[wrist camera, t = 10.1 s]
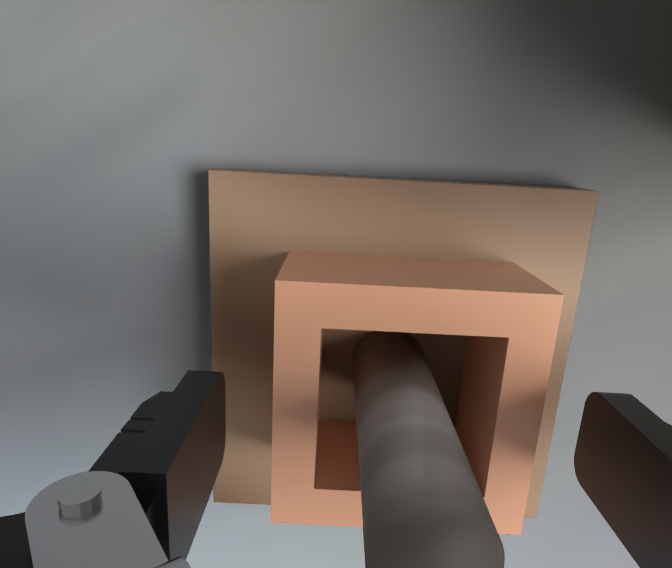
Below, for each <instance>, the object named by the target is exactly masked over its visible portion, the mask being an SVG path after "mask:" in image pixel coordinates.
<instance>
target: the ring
mask: <svg viewBox="0 0 672 568" xmlns="http://www.w3.org/2000/svg"><path fill="white" fill-rule="evenodd" d="M563 298H564V295H563V294H562V293H560V292H559V291H557V290H556V289H554V288H552V287H551V286H549V285H548V284H546V283H545V282H543V281H542V280H540V279H538V278H537V277H535V276H534V275H532V274H531V273H529V272H528V271H526V270H524V269H523V268H521V267H520V266H518V265H517V264H515V263H506V262H486V261H466V260H447V259H427V258H408V257H388V256H368V255H349V254H329V253H310V252H290V251H289V253H288V255H287V257H286V259H285V261H284V263H283V265H282V267H281V269H280V271H279V273H278V275H277V277H276V279H275V304H274V360H273V415H272V471H271V523H288V524H309V525H330V526H351V527H363V518H362V502H361V486H360V470H359V453H358V437H357V422H338V421H319V414H320V393H321V371H322V350H323V328H326V329H346V330H366V331H386V332H406V333H426V334H446V335H466V336H467V341H466V349H465V356H464V364H463V372H462V380H461V387H460V395H459V403H458V411H457V418H456V426H455V427H454V428H455V431H456V433H457V436H458V438H459V440H460V443H461V445H462V448H463V450H464V452H465V455H466V457H467V460H468V462H469V465H470V467H471V469H472V472H473V474H474V477H475V479H476V481H477V484H478V486H479V489H480V491H481V494H482V496H483V498H484V501H485V503H486V506H487V508H488V511H489V513H490V515H491V518H492V520H493V523H494V525H495V527H496V530H497V532H498V534H518V535H521V530H522V525H523V519H524V514H525V508H526V503H527V497H528V492H529V486H530V481H531V475H532V469H533V464H534V458H535V453H536V447H537V442H538V436H539V431H540V425H541V420H542V414H543V409H544V403H545V398H546V392H547V387H548V381H549V376H550V370H551V365H552V359H553V354H554V348H555V342H556V337H557V331H558V326H559V320H560V315H561V309H562V304H563Z"/></svg>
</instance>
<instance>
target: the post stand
mask: <svg viewBox="0 0 672 568" xmlns="http://www.w3.org/2000/svg"><path fill="white" fill-rule="evenodd" d="M208 177H209V240H210V304H211V367H212V372H223V373H224V376H225V402H226V441H225V451H224V456H223V461H222V465H221V468H220V470H219V473H218V476H217V478H216V481H215V484H214V486H213V494H214V502H226V503H246V504H266V505H271V471H272V415H273V360H274V304H275V279H276V277H277V275H278V273H279V271H280V269H281V267H282V265H283V263H284V261H285V259H286V257H287V255H288V253H289V251H290V252H310V253H329V254H349V255H368V256H388V257H408V258H427V259H447V260H466V261H486V262H506V263H515V264H517V265H518V266H520V267H521V268H523V269H524V270H526V271H528V272H529V273H531V274H532V275H534V276H535V277H537V278H538V279H540V280H542V281H543V282H545V283H546V284H548V285H549V286H551V287H552V288H554V289H556V290H557V291H559V292H560V293H562V294H563V295H564V298H563V304H562V309H561V315H560V320H559V326H558V331H557V337H556V342H555V348H554V354H553V359H552V365H551V370H550V376H549V381H548V387H547V392H546V398H545V403H544V409H543V414H542V420H541V425H540V431H539V436H538V442H537V447H536V453H535V458H534V464H533V469H532V475H531V481H530V486H529V492H528V497H527V503H526V508H525V514H524V517H526V518H536V516H537V511H538V506H539V500H540V495H541V490H542V485H543V479H544V474H545V469H546V464H547V459H548V453H549V448H550V443H551V438H552V433H553V427H554V422H555V417H556V412H557V407H558V401H559V396H560V391H561V386H562V380H563V375H564V370H565V365H566V360H567V354H568V349H569V344H570V339H571V334H572V328H573V323H574V318H575V313H576V308H577V302H578V297H579V292H580V287H581V281H582V276H583V271H584V266H585V261H586V255H587V250H588V245H589V240H590V235H591V229H592V224H593V219H594V214H595V209H596V203H597V198H598V193H599V191H594V190H587V189H581V188H564V187H545V186H527V185H509V184H490V183H472V182H453V181H435V180H417V179H398V178H380V177H361V176H343V175H325V174H306V173H288V172H269V171H251V170H233V169H212V170H208ZM466 341H467V336H466V335H446V334H426V333H406V332H386V331H366V330H346V329H326V328H323V350H322V371H321V393H320V414H319V421H338V422H357V437H358V453H359V470H360V486H361V502H362V518H363V534H364V551H365V567H366V568H504V560H505V558H504V549H503V545H502V542H501V540H500V537H499V535H498V532H497V530H496V527H495V525H494V523H493V520H492V518H491V515H490V513H489V511H488V508H487V506H486V503H485V501H484V498H483V496H482V494H481V491H480V489H479V486H478V484H477V481H476V479H475V477H474V474H473V472H472V469H471V467H470V465H469V462H468V460H467V457H466V455H465V452H464V450H463V448H462V445H461V443H460V440H459V438H458V436H457V433H456V431H455V428H454V427H455V426H456V418H457V411H458V403H459V395H460V387H461V380H462V372H463V364H464V356H465V349H466Z"/></svg>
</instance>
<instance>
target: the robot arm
mask: <svg viewBox="0 0 672 568" xmlns="http://www.w3.org/2000/svg"><path fill="white" fill-rule="evenodd" d="M225 441H226V402H225V376H224V373H223V372H212V371H193V370H189V371H188V372H187V373H186V374H185V376H184V377H183V379H182V380H181V381H180V383H179V384H178V386H177V387H176V389H175V390H174V392H163V391H161V392H159V393H158V394H156V395H154V396H153V397H151V398H149V399H148V400H146V401H144V402H143V403H142V404H141V405H140V406H139V407H138V409H137V410H136V411H135V413H134V414H133V415H132V416H131V419H130V420H128V421H127V423H126V424H125V425H124V427H123V428H122V429H121V433H118V434H117V435H116V437H115V438H114V439H113V441H112V442H111V443H110V444H109V446H108V447H107V448H106V449H105V451H104V452H103V453H102V455H101V456H100V457H99V458H98V460H97V461H96V462H95V463H94V465H93V466H92V467H91V469H90V470H89V471H88V472H84V473H79V474H75V475H71V476H69V477H66V478H63V479H61V480H59V481H57V482H55V483H53V484H51V485H49V486H48V487H46V488H45V489H43V490H42V491H41V492H40V493H38V494H37V495H36V496H35V497H34V498H33V500H32V501H31V502H30V503H29V505H28V507H27V509H26V512H24V513H20V514H15V515H9V516H4V517H0V568H191V567H190V566H189V564H188V562H187V561H186V558H187V555H188V553H189V550H190V547H191V545H192V542H193V539H194V537H195V534H196V531H197V529H198V526H199V523H200V521H201V518H202V515H203V513H204V510H205V507H206V505H207V502H208V499H209V497H210V494H211V491H212V489H213V486H214V484H215V481H216V478H217V476H218V473H219V470H220V468H221V465H222V461H223V456H224V451H225ZM574 467H575V473H576V476H577V479H578V481H579V483H580V485H581V487H582V488H583V489H584V491H585V492H586V493H587V495H588V496H589V498H590V499H591V500H592V502H593V503H594V505H595V506H596V507H597V509H598V510H599V512H600V513H601V514H602V516H603V517H604V518H605V520H606V521H607V523H608V524H609V525H610V527H611V528H612V530H613V531H614V532H615V534H616V535H617V537H618V538H619V539H620V541H621V542H622V543H623V545H624V546H625V548H626V549H627V550H628V552H629V553H630V555H631V556H632V557H633V559H634V560H635V562H636V563H637V564H638V566H639V567H640V568H672V426H671V425H670V424H668V423H666V422H664V421H663V420H661V419H660V418H659V417H658V416H657V415H656V414H654V413H653V412H652V411H651V410H650V409H648V408H647V407H646V406H645V405H644V404H642V403H641V402H640V401H639V400H638V399H636V398H635V397H634V396H632V395H631V394H623V393H604V392H592V393H591V394H590V395H589V396H588V397H587V399H586V402H585V406H584V411H583V416H582V420H581V425H580V430H579V435H578V440H577V444H576V449H575V455H574Z"/></svg>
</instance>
